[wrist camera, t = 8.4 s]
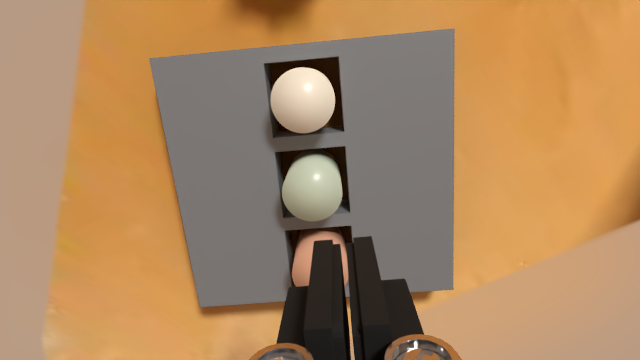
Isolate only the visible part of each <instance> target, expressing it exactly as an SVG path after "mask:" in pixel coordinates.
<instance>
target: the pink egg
mask: <svg viewBox="0 0 640 360" xmlns="http://www.w3.org/2000/svg"><path fill="white" fill-rule="evenodd" d="M331 239H333V244H340V246H341V255H342V265H343V275H344V285H345V286H346V284H347V282H348V264H347V251H346V242H345V237H344V234H343V232H342V231H341V230H340V228H339V227H325V228H313V229H302V230H301V232H300V233H299V236H298V239H297V245H296V251H295V257H294V263H293V268H292V278H293V281H294V284H295V286H296V287H298V286H309V278H310V270H311V261H312V253H313V245H314V241H319V240H331Z"/></svg>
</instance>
